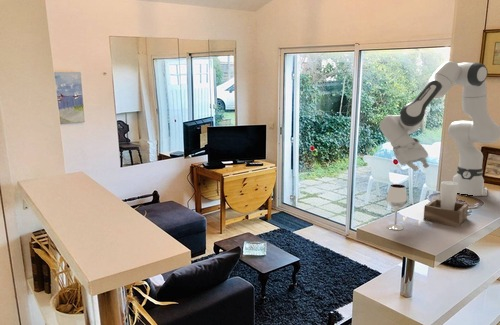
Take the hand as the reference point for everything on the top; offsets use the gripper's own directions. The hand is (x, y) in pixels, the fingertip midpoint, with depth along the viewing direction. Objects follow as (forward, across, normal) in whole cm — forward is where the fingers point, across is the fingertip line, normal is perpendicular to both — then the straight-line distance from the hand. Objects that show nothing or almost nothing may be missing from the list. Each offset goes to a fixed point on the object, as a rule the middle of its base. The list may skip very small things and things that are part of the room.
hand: (422, 168), depth 179 cm
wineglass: (+18, -26, +12) cm, 34 cm away
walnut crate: (+24, 0, +6) cm, 24 cm away
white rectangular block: (+22, +3, +6) cm, 23 cm away
